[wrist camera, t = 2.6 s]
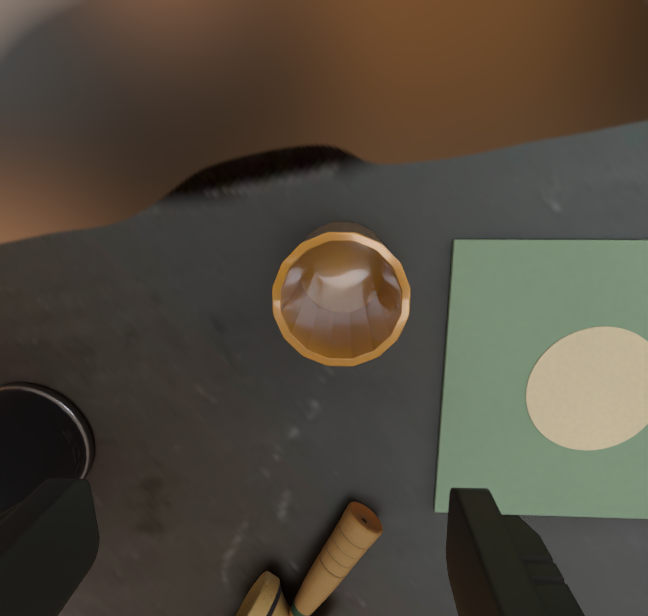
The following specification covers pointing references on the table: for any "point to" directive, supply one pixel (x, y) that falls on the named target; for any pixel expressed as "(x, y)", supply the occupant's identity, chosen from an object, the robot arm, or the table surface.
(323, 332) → the cup
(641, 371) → the mat
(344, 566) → the kendama
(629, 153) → the table surface
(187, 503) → the table surface
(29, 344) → the table surface
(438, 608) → the table surface
